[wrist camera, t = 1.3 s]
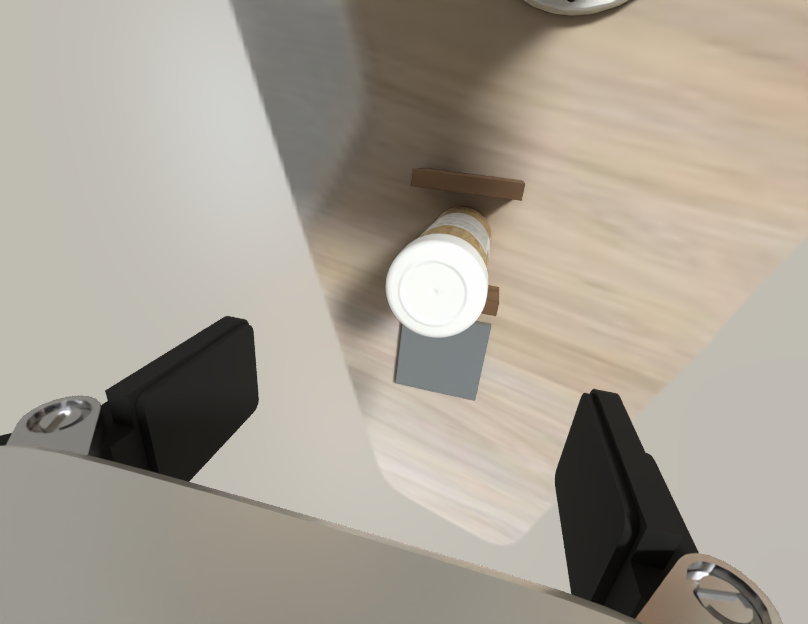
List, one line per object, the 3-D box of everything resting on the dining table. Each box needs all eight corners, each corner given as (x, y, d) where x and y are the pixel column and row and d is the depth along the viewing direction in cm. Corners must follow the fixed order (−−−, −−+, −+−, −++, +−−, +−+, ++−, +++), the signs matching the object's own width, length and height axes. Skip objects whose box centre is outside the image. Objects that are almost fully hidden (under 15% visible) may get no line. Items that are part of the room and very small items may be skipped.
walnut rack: (422, 167, 28) (412, 169, 25) (522, 180, 27) (525, 183, 24) (408, 283, 31) (398, 298, 28) (496, 299, 30) (496, 316, 27)
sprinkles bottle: (461, 277, 30) (435, 359, 18) (418, 237, 30) (362, 292, 18) (505, 235, 28) (510, 294, 16) (460, 190, 28) (431, 217, 16)
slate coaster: (405, 307, 32) (404, 310, 32) (491, 323, 31) (491, 326, 31) (397, 379, 35) (395, 383, 34) (475, 396, 34) (474, 400, 33)
